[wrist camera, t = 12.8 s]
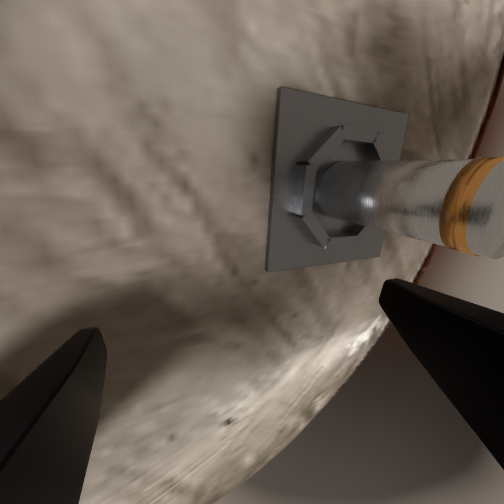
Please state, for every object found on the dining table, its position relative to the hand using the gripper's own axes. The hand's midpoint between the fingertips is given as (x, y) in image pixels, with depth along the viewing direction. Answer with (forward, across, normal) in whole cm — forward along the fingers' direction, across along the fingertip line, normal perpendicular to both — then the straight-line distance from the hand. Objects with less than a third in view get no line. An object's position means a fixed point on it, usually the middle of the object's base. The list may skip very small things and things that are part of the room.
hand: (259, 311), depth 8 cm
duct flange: (+15, -12, 0) cm, 19 cm away
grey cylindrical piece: (+14, -12, 0) cm, 19 cm away
